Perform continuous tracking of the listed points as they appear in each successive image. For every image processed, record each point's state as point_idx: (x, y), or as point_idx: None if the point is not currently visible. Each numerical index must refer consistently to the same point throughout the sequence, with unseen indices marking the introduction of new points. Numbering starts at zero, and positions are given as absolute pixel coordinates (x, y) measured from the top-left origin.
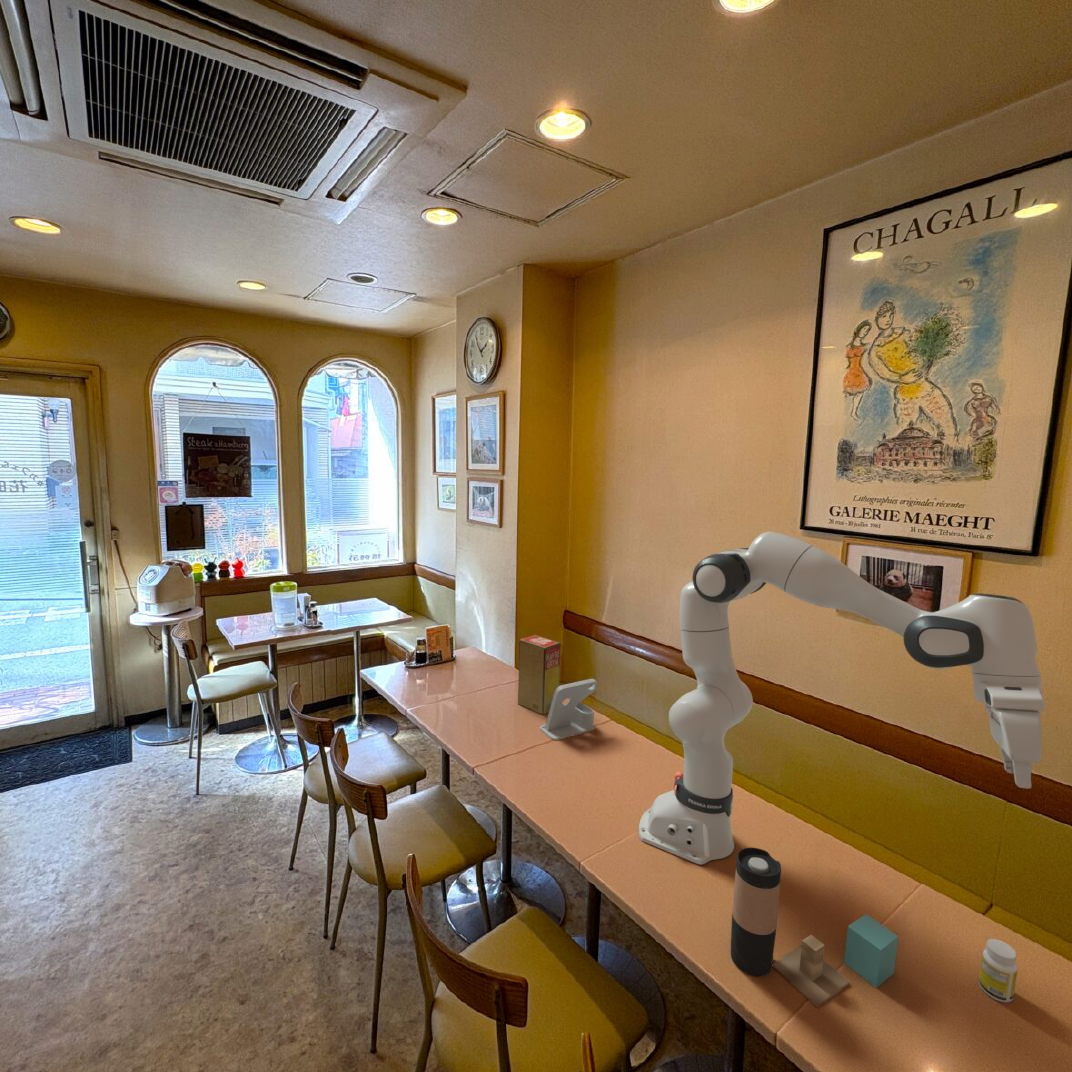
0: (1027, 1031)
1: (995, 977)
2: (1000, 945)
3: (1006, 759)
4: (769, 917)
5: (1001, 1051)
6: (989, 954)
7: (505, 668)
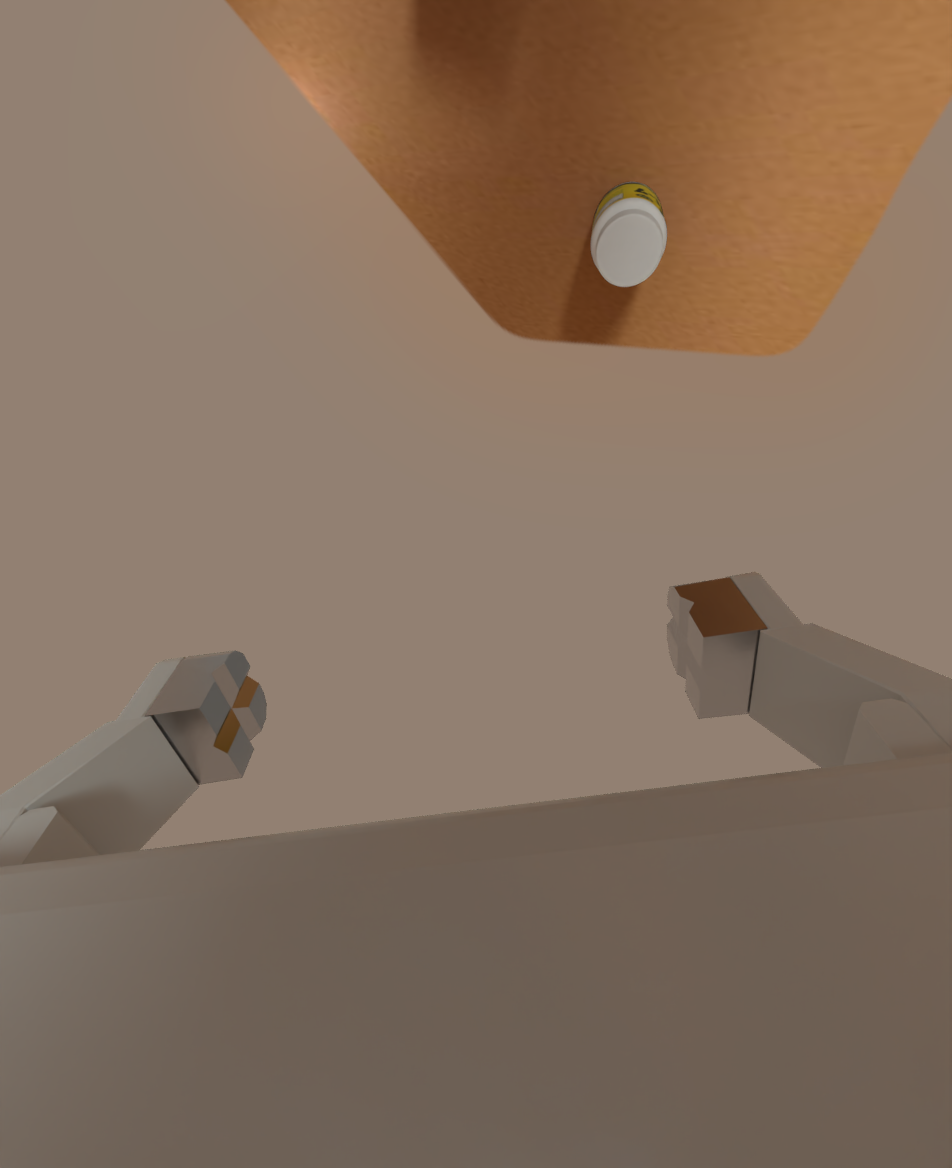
0: (543, 284)
1: (592, 229)
2: (640, 249)
3: (768, 657)
4: None
5: (453, 237)
6: (609, 219)
7: None
